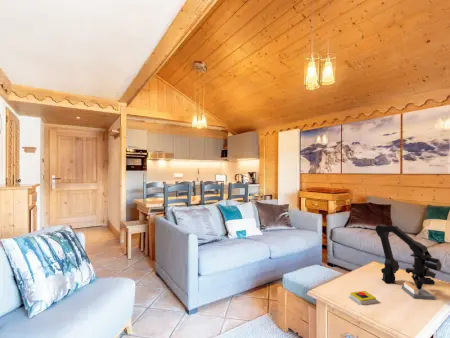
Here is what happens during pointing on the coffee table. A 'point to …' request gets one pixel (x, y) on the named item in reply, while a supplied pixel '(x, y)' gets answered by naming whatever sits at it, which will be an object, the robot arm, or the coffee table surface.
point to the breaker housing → (420, 294)
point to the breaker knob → (411, 287)
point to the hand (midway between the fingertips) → (419, 289)
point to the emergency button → (362, 298)
